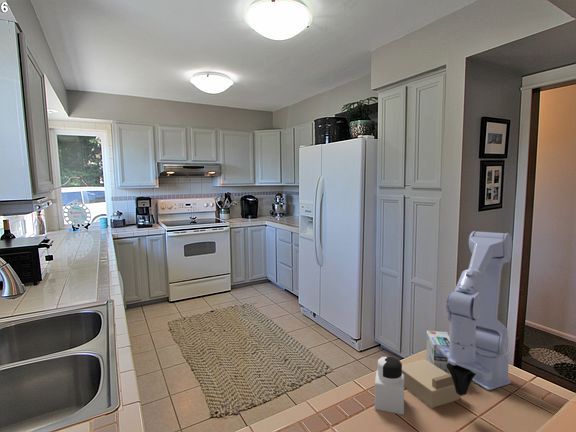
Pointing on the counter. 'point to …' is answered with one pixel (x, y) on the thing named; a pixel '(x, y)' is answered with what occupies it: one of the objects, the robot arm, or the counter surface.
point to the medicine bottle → (389, 386)
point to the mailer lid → (428, 375)
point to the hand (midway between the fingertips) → (461, 393)
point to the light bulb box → (431, 356)
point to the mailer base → (429, 397)
